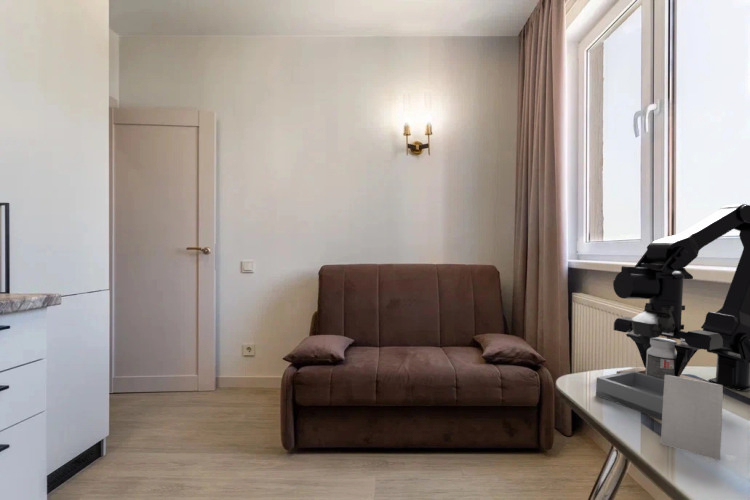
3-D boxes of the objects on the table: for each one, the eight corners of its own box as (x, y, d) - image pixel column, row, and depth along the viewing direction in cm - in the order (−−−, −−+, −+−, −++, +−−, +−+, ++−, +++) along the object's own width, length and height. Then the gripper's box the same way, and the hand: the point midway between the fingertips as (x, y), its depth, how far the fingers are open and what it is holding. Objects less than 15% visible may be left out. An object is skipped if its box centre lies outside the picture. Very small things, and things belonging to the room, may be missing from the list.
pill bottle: (683, 392, 83) (685, 344, 83) (652, 389, 84) (654, 341, 84) (668, 382, 89) (671, 338, 89) (640, 380, 90) (642, 335, 90)
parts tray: (631, 387, 85) (632, 370, 85) (698, 408, 75) (699, 390, 75) (595, 394, 80) (596, 377, 80) (662, 419, 69) (663, 399, 69)
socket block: (647, 374, 95) (647, 365, 95) (708, 391, 84) (708, 382, 84) (616, 380, 89) (616, 371, 89) (677, 400, 79) (677, 390, 79)
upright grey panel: (719, 460, 56) (723, 389, 56) (660, 444, 60) (664, 377, 60) (717, 449, 59) (721, 382, 59) (661, 435, 63) (665, 371, 63)
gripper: (600, 294, 91) (596, 363, 91) (696, 308, 74) (692, 392, 75) (629, 293, 96) (626, 358, 96) (726, 305, 79) (721, 384, 80)
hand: (661, 371), depth 87 cm, fingers closed on pill bottle, 6 cm apart
